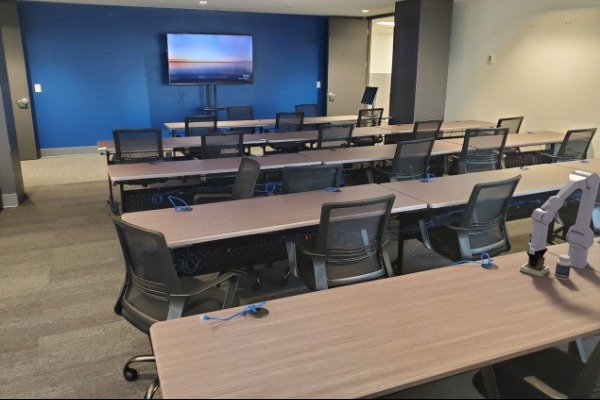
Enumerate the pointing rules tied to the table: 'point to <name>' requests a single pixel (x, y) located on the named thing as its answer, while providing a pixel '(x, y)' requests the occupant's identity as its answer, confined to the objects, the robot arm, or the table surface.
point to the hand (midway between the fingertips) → (535, 264)
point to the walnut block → (538, 264)
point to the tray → (534, 272)
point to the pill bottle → (563, 267)
